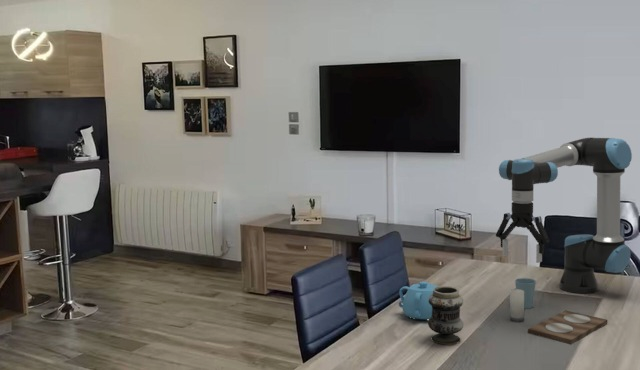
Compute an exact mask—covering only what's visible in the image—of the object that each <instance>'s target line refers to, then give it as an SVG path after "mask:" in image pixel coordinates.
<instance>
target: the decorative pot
mask: <svg viewBox="0 0 640 370" xmlns="http://www.w3.org/2000/svg"><path fill="white" fill-rule="evenodd" d="M436 287H438V285H436V284H431V283H429V282H427V281H424V280H423V281H422V280H421V281H419V282H418V283H413V284H412V285H410V286H408V285H407V286H406V285H405V286H402V287H401V288H400V289H399V291H398V294H399V297H400V300H399V302H398V307H400V308H401V309H402V312H403V313H404V315H405V316H406V317H409V318H410V317H411V318H416V319H415V320H426V319H430V318H431V317H432V306H431V305H430V304H429V297H430V296H431V295H432V294H433V290H434V288H436ZM403 290H407V291H406V292H405V296H404V294H403Z"/></svg>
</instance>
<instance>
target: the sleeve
mask: <svg viewBox="0 0 640 370" xmlns="http://www.w3.org/2000/svg"><path fill="white" fill-rule="evenodd" d="M509 320H510V321H511V322H513V323H522V322H524V321H525V308H524V291H523V290H520V289H516V288H514V289H510V291H509Z"/></svg>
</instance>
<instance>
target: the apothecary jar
mask: <svg viewBox="0 0 640 370" xmlns="http://www.w3.org/2000/svg"><path fill="white" fill-rule="evenodd" d="M429 304H430V305H431V306H432V317H431V318H430V319H429V321H427V325H428V327H429V328H430V330H431V331H433V332H434V333H436V334H433V335H432V336H431V338H432V339H431V341H432V340H433V341H434V342H433V341H432V342H433V343H435V342H437V343H436V344H438V343H439V345H445V344H451V345H455V344H457V343H458V341H459V342H461V338H460V337H459V336H458V335H456V334H457V333H459V332H461V331H462V329H463V328H464V321H463V320H462V319H461V307H462V306H463V304H464V298H463V297H462V295H460V294H459V289H458V288H457V287H453V286H449V285H440V286H437V287H436V288H434V290H433V294H432V295H431V296H430V297H429Z"/></svg>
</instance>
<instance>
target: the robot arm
mask: <svg viewBox="0 0 640 370" xmlns="http://www.w3.org/2000/svg"><path fill="white" fill-rule="evenodd" d="M632 156H633V155H632V150H631V147H630V145H629V144H628V143H627V141H626V140H624V139H622V138H615V137H583V138H579V139H577V140H572V141H569V142H566V143H563V144H561V145H560V146H559V147H558V148H553V149H551V150H547V151H544V152H539V153H536V154H533V155H529V156H526V157H522V158H516V159H513V160H511V159H507V160H505V159H504V160H503V161H502V162H501V163H500V164H499V166H498V174H499V177H501V178H502V179H504V180H508V181H511V201H512V202H511V213H510V212H506V213H503V219H502V221H501V224H500V225H499V228H498V229H497V232H496V233H495V237H496V238H499V239H500V248H502V256H501V257H502V258H506V257H508V256H509V238H508V236H509V235H511V233H512V231H514V229H515V228H523V229H526V230H528V231H529V232H530V233H531V235H532V237H534V238H533V239H535V241H536V242H537V244H536V247H535V248H536V251H535V253H536V255H535V259H536V260H535V263H537V264H539V263H542V262H543V254H544V253H545V245H546V244H549V243H550V242H551V241H550V238H549V236H548V233H547V231H546V229H545V227H544V226H545V225H543V223H542V222H543V221H542V220H543V218H542V216H541V215H540V216H534V203H533V201H534V186H535V185H538V184H548V183H551V182H554V181H555V180H556V179H557V178H558V175H559V171H558V168H562V167H565V166H566V167H573V166H585V167H586V166H587V167H588V166H589V167H592V173H593V174H594V175H596V178H597V179H596V235H593V234H585V233H584V234H583V233H582V234H574V235H568V236H567V237H565V239H564V245H563V248H564V249H563V251H564V253H563V254H564V256H563V257H564V260H563V261H564V263H563V264H564V266H563V267H564V269H563V272H562V275H561V278H560V281H559V288H560V289H561V290H562V291H565V292H569V293H574V294H591V293H596V292H598V291H599V289H598V288H599V287H598V286H599V284H598V280H597V278H596V274H595V270H599V271H603V272H606V273H614V274H618V273H619V274H620V273H622V272H623V271H624V270H625V269H626V268H627V266H628V265H629V263H630V259H631V257H632V256H631V250H630V248H629V247H628V246H627V245H625V238H624V237H623V236H622V235H621V176H622V175H623V174H624V173H625V171H626V169H627V168H628V167H630V164H631V162H632ZM510 219H511V220H512V222H510ZM509 222H510V224H509V226H508V223H509ZM533 222H534V223H535V224H534V223H533ZM507 226H508V227H507ZM535 226H536V227H535ZM594 269H595V270H594Z"/></svg>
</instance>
